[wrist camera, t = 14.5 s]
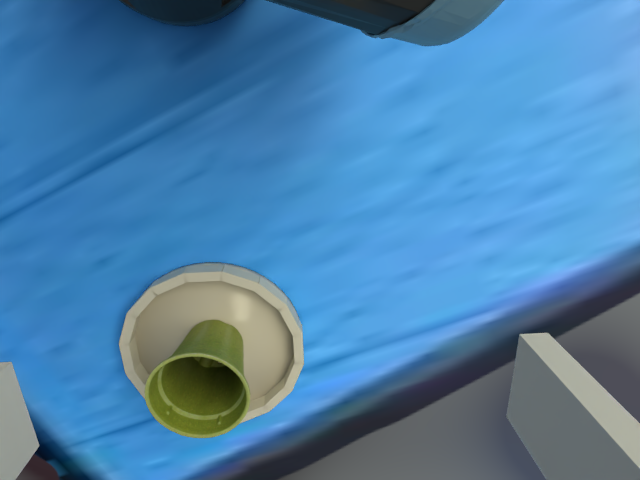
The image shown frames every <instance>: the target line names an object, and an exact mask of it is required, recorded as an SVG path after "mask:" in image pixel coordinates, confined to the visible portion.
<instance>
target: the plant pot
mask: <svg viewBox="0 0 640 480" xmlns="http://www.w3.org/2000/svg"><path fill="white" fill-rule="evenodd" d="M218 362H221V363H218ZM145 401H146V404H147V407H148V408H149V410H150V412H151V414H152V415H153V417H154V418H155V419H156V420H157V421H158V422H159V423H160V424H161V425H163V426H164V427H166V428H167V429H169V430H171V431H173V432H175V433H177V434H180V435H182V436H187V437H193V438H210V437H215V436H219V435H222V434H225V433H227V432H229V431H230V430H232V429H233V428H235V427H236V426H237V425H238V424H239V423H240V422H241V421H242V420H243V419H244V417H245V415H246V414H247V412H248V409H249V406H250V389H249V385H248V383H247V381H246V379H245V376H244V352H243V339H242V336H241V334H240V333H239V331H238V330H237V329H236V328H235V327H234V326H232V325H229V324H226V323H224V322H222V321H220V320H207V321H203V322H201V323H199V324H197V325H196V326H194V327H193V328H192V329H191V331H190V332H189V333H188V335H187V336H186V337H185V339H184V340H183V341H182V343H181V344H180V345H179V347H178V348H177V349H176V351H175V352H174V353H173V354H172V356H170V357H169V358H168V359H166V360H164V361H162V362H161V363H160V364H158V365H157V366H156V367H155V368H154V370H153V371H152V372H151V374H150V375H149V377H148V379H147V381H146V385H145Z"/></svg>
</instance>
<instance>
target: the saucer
mask: <svg viewBox="0 0 640 480" xmlns="http://www.w3.org/2000/svg"><path fill="white" fill-rule="evenodd" d="M207 320H220V321H222V322H224V323H226V324H229V325H232V326H234V327H235V328H236V329H237V330H238V331H239V333H240V334H241V336H242V339H243V352H244V376H245V379H246V381H247V383H248V385H249V389H250V406H249V409H248V412H247V414H246V415H245V417H244V419H243V420H242V421H241V422H240V423H242V422H245V421H247V420H250V419H252V418H255V417H257V416H260V415H262V414H265V413H267V412H269V411H271V410H272V409H273V408H274V407H275V406H276V405H277V404H278V403H279V402H281V401H282V400H283V399H284V398H285V397H286V396H287V395H288V394H289V393H290V392H291V391H292V390H293V388H294V385H295V383H296V381H297V379H298V376H299V374H300V372H301V369H302V367H303V365H304V353H303V331H302V324H301V322H300V319H299V316H298V314H297V312H296V309H295V307H294V306H293V304H292V303H291V301H290V299H289V298H288V297H287V296H286V295H285V293H284V292H283V291H282V290H281V289H280V288H279V287H278V286H276V285H275V284H274V283H273V282H271V281H270V280H269V279H267V278H266V277H264V276H262V275H260V274H259V273H257V272H255V271H252V270H250V269H247V268H245V267H241V266H237V265H233V264H228V263H220V262H205V263H196V264H191V265H187V266H183V267H180V268H178V269H175V270H172V271H171V272H169V273H167V274H165V275H163V276H162V277H160V278H159V279H157V280H155V281H154V282H153V283H152V284H151V285H150V286H149V287H148V288H147V289H146V290H145V292H144V293H143V294H142V295H141V296H140V298H139V299H138V300H137V301H136V302H135V303H134V304H133V306H132V307H131V308H130V310H129V311H128V312H127V314H126V318H125V322H124V326H123V329H122V333H121V337H120V341H119V347H120V352H121V356H122V360H123V365H124V369H125V374H126V375H127V377H128V378H129V379H130V380H131V382H132V383H133V384H134V386H135V387H136V388H137V390H138V391H139V392H140V394H141V395H142V396H143V398H144V399H145V385H146V381H147V379H148V377H149V375H150V374H151V372H152V371H153V370H154V368H155V367H156V366H157V365H158V364H160V363H161V362H162V361H164V360H166V359H168V358H169V357H170V356H172V354H173V353H174V352H175V351H176V349H177V348H178V347H179V345H180V344H181V343H182V341H183V340H184V339H185V337H186V336H187V335H188V333H189V332H190V331H191V329H192V328H193V327H194V326H196V325H197V324H199V323H201V322H203V321H207ZM218 363H221V362H218Z"/></svg>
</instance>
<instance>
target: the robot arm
mask: <svg viewBox="0 0 640 480" xmlns="http://www.w3.org/2000/svg"><path fill="white" fill-rule="evenodd" d="M119 1H121V2H122V3H123V4H125V5H126V6H128V7H129V8H131V9H133V10H134V11H136V12H138V13H140V14H142V15H144V16H147V17H149V18H151V19H154V20H156V21H159V22H162V23H166V24H171V25H177V26H196V25H202V24H207V23H210V22H213V21H216V20H218V19H220V18H222V17H224V16H226V15H228V14H229V13H231V12H232V11H233V10H235V9H236V8H237V7H238V6H240V5H241V4H242V3H243V2H244V1H245V0H119ZM266 1H269V2H273V3H276V4H279V5H282V6H285V7H289V8H292V9H295V10H298V11H302V12H305V13H308V14H311V15H314V16H318V17H321V18H324V19H327V20H331V21H334V22H337V23H340V24H343V25H347V26H350V27H353V28H356V29H360V30H361V31H362V32H363V33H364V34H365V35H367V36H370V37H372V38H377V37H378V38H381V39H384V38H394V39H398V40H401V41H405V42H409V43H413V44H417V45H421V46H437V45H442V44H447V43H450V42H452V41H454V40H456V39H458V38H460V37H462V36H464V35H465V34H467V33H469V32H470V31H471V30H473V29H474V28H475V27H477V26H478V25H479V24H480V23H482V22H483V21H484V20H485V19H486V18H487V17H488V16H489V15H490V14H491V13H492V12H493V11H494V10H495V9H496V8H497V7H498V6H499V5H500V4H501V3H502V2H503V1H504V0H266ZM507 418H508V420H509V421H510V423H511V425H512V426H513V428H514V429H515V431H516V432H517V434H518V436H519V437H520V439H521V440H522V442H523V443H524V445H525V447H526V448H527V450H528V451H529V453H530V455H531V456H532V457H533V459H534V461H535V462H536V464H537V466H538V467H539V469H540V470H541V472H542V473H543V475H544V477H545V478H546V480H640V423H639V422H637V420H635V419H634V418H633V417H632V416H631V415H630V414H629V413H628V412H627V411H626V410H625V409H624V408H623V407H622V406H621V405H620V404H619V403H618V402H617V401H616V400H615V399H614V398H613V397H612V396H611V395H610V394H609V393H608V392H607V391H606V390H605V389H604V388H603V387H602V386H601V385H600V384H599V383H598V382H597V381H596V380H595V379H594V378H593V377H592V376H591V375H590V374H589V373H588V372H587V371H586V370H585V369H584V368H583V367H582V366H581V365H580V364H579V363H578V362H577V361H576V360H575V359H574V358H573V357H572V356H571V355H570V354H569V353H568V352H567V351H566V350H565V349H564V348H562V346H560V344H558V343H557V342H556V341H555V340H554V339H553V338H552V337H551V336H550V335H549V334H548V333H536V334H520V335H519V341H518V348H517V354H516V360H515V366H514V372H513V379H512V385H511V391H510V397H509V404H508V410H507ZM38 447H39V443H38V440H37V437H36V434H35V431H34V428H33V425H32V422H31V419H30V416H29V413H28V410H27V407H26V404H25V401H24V398H23V395H22V392H21V389H20V386H19V383H18V380H17V377H16V374H15V371H14V368H13V365H12V362H0V480H16V478H17V477H18V475H19V474H20V472H21V471H22V470H23V468H24V467H25V465H26V464H27V462H28V461H29V460H30V458H31V457H32V455H33V454H34V453H35V451H36V450H37V448H38Z"/></svg>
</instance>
